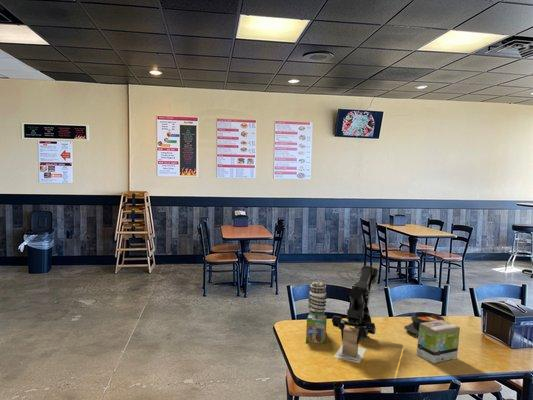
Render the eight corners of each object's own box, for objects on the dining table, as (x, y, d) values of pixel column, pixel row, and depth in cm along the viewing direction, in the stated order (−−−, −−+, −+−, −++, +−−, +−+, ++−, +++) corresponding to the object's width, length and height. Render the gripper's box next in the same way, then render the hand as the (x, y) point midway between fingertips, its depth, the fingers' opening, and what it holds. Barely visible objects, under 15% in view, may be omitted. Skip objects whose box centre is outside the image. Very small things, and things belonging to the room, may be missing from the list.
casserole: (433, 324, 221) (434, 309, 221) (460, 337, 204) (461, 320, 203) (396, 328, 212) (397, 312, 212) (421, 342, 195) (422, 325, 194)
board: (342, 345, 186) (342, 343, 186) (366, 350, 181) (366, 348, 181) (333, 359, 171) (333, 357, 171) (359, 365, 167) (359, 363, 167)
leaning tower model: (327, 334, 198) (330, 285, 197) (310, 335, 196) (312, 285, 195) (321, 327, 207) (323, 280, 206) (304, 328, 205) (306, 280, 204)
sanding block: (344, 350, 178) (345, 326, 177) (357, 353, 176) (359, 328, 175) (342, 353, 175) (343, 329, 174) (355, 356, 172) (357, 332, 171)
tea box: (434, 364, 171) (437, 330, 170) (416, 354, 180) (418, 322, 179) (458, 358, 178) (460, 326, 177) (439, 349, 187) (441, 318, 186)
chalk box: (325, 345, 185) (326, 314, 184) (305, 343, 187) (307, 312, 186) (326, 338, 194) (327, 308, 193) (307, 335, 196) (308, 306, 195)
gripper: (334, 298, 181) (326, 329, 172) (376, 305, 174) (370, 338, 164) (337, 310, 189) (329, 341, 179) (377, 317, 181) (372, 350, 172)
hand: (349, 342), depth 173 cm, fingers closed on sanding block, 6 cm apart
